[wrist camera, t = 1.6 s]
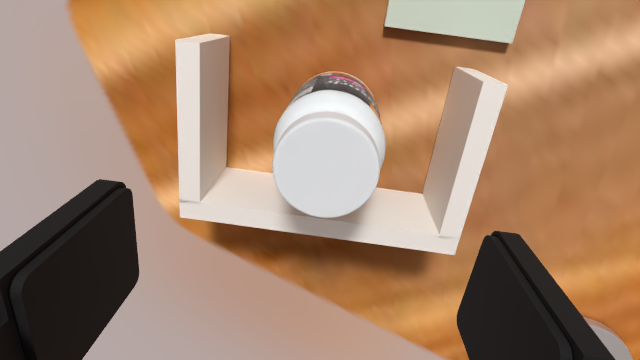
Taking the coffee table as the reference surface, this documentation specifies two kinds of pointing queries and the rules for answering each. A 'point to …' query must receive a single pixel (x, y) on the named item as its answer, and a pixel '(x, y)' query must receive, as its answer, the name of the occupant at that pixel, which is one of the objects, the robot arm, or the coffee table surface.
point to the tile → (457, 17)
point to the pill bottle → (329, 146)
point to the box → (384, 204)
